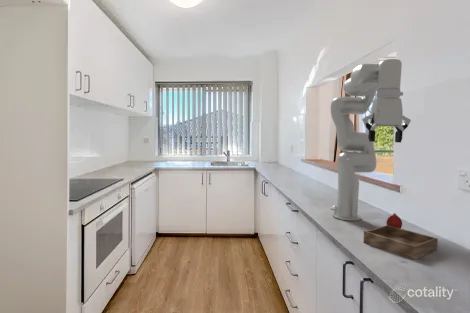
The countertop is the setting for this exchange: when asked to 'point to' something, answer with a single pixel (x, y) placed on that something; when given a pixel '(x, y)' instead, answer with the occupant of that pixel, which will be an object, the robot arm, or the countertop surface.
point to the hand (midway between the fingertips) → (384, 141)
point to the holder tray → (401, 241)
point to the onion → (394, 221)
